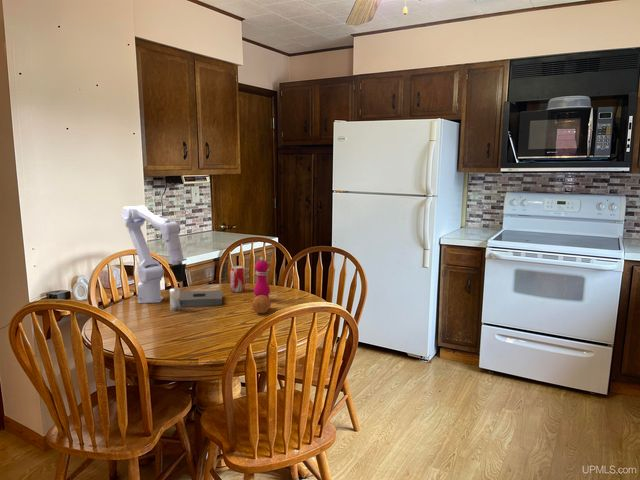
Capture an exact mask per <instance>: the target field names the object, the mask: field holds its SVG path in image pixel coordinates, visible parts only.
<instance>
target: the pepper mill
mask: <svg viewBox="0 0 640 480" xmlns="http://www.w3.org/2000/svg"><path fill="white" fill-rule="evenodd" d="M254 265H255V266H254V268H255V270H256V275H257V281H256V284H255V286H254V289H253V293H254V295H255V297H254V299H255V298H256V297H257V296H258V295H265V296H267V297H268V298H269V299H270V296H269V295H270V293H271V288H270V285H269V283H268V280H267V279H268V278H267V275H268V269H269V263H268V261H266V260H265V259H264V257H263V256H261V257H259V260H258V261H256V263H255V264H254Z"/></svg>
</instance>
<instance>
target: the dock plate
mask: <svg viewBox="0 0 640 480" xmlns="http://www.w3.org/2000/svg"><path fill="white" fill-rule="evenodd" d="M223 298H224V297H223V290H204V291H202V290H201V291H200V290H199V291H180V308H184V307H205V306H206V307H209V306H210V307H211V306H213V307H214V306H222V304H223Z"/></svg>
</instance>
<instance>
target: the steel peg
mask: <svg viewBox="0 0 640 480" xmlns="http://www.w3.org/2000/svg"><path fill="white" fill-rule="evenodd" d="M180 292H181V291H180V287H171V288H169V305H170V306H169V308H170V309H169V310H170V311H171V312H177V311H180V310H181V307H180Z"/></svg>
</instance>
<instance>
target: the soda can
mask: <svg viewBox="0 0 640 480" xmlns="http://www.w3.org/2000/svg"><path fill="white" fill-rule="evenodd" d="M229 272H230V274H229V277H230V279H229V284H230V290H231V291H232V292H233V293H242V292H244V291H245V289H246V272H245V269H244V266H243V265H234V266H233V265H232V266H231V268H230V271H229Z"/></svg>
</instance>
